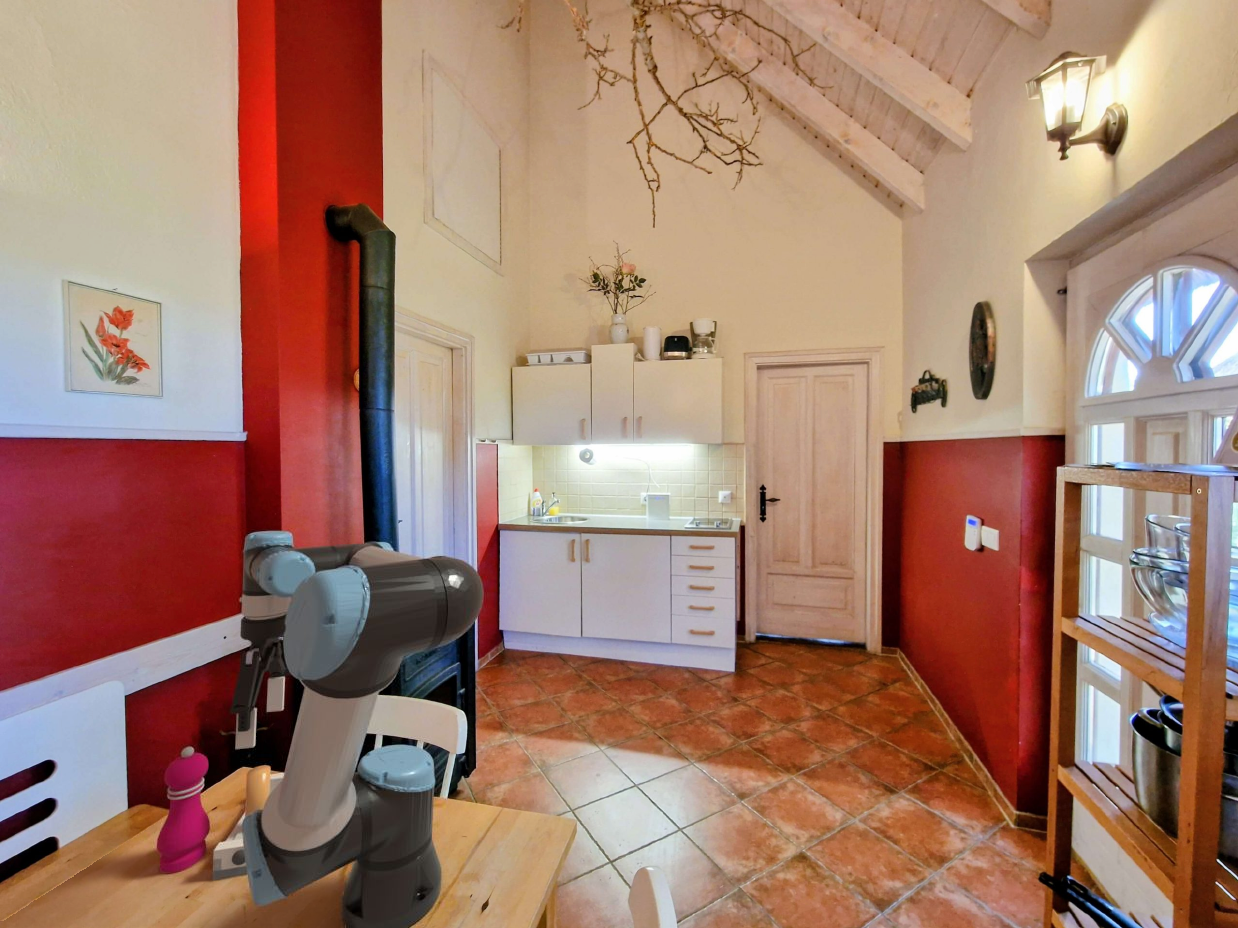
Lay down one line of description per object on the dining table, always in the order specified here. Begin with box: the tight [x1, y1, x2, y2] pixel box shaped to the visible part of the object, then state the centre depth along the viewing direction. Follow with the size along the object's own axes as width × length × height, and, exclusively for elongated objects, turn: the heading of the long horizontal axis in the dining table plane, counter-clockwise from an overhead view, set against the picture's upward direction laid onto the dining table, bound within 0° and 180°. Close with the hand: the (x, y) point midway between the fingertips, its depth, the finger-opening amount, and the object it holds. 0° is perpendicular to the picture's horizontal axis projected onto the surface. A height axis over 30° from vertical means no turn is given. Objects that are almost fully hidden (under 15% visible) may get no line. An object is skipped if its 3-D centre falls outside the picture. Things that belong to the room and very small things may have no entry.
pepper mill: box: [156, 746, 211, 874], centre depth 90 cm, size 7×7×20 cm
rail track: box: [212, 772, 284, 881], centre depth 97 cm, size 23×8×5 cm, turn 16°
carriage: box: [234, 764, 272, 840], centre depth 93 cm, size 7×5×12 cm
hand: (261, 727), depth 94 cm, fingers open, 13 cm apart
